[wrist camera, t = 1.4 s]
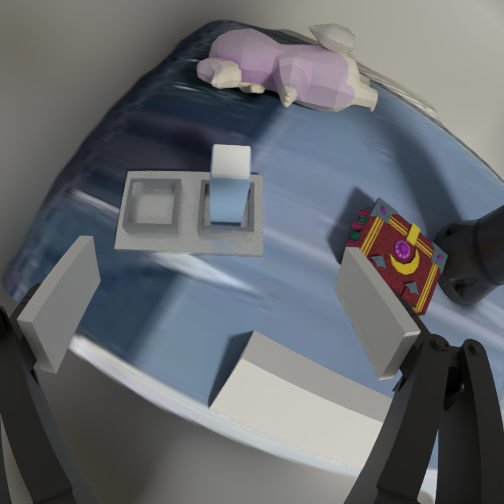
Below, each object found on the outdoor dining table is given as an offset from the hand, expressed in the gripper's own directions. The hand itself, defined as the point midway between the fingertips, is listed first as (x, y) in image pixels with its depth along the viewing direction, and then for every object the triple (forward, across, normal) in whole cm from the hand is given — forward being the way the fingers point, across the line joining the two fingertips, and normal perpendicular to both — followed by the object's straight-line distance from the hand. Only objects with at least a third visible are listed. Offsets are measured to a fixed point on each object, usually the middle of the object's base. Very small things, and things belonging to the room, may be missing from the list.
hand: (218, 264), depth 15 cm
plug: (+26, +1, -7) cm, 27 cm away
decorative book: (+22, +26, -12) cm, 36 cm away
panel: (+26, -4, -8) cm, 28 cm away
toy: (+45, +11, +11) cm, 47 cm away
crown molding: (+7, +15, -28) cm, 33 cm away
